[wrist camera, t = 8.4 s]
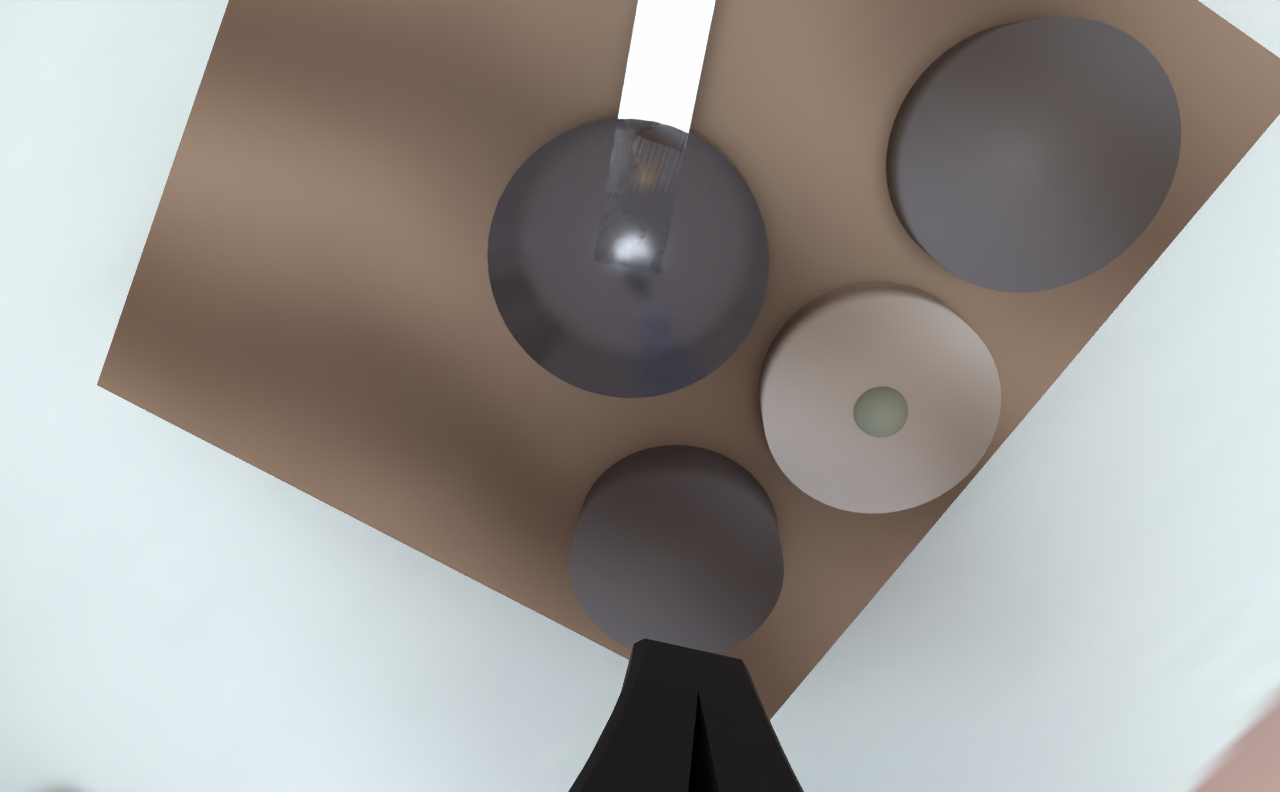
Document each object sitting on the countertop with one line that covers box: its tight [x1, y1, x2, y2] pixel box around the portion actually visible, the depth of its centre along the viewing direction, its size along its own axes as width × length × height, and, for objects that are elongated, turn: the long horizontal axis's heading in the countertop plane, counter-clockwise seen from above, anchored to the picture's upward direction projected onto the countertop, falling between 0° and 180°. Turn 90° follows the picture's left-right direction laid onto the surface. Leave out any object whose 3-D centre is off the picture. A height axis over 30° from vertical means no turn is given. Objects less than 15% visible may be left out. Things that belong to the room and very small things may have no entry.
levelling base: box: [97, 0, 1280, 720], centre depth 16 cm, size 17×17×3 cm
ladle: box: [487, 0, 769, 398], centre depth 13 cm, size 10×5×4 cm, turn 169°
